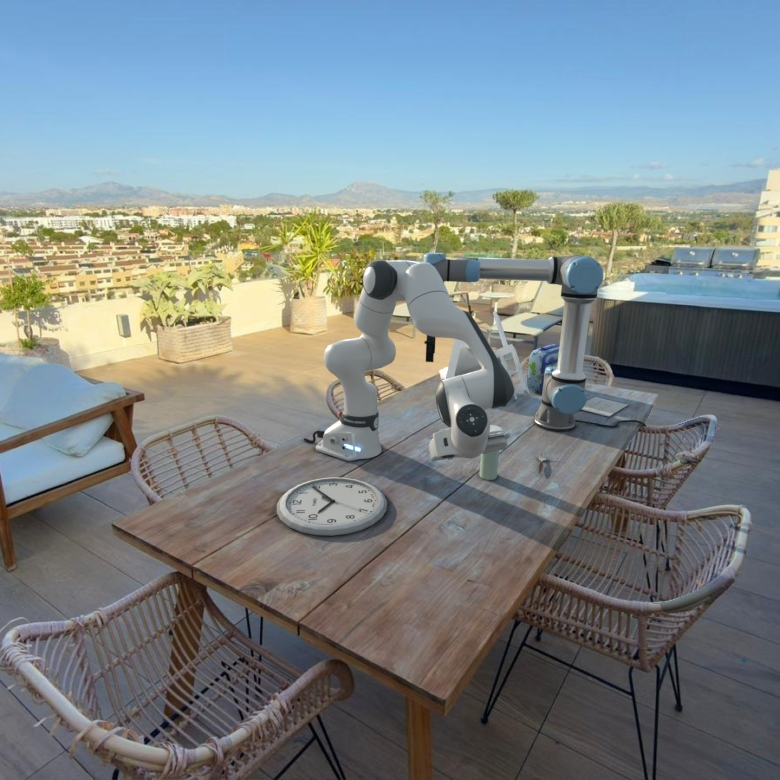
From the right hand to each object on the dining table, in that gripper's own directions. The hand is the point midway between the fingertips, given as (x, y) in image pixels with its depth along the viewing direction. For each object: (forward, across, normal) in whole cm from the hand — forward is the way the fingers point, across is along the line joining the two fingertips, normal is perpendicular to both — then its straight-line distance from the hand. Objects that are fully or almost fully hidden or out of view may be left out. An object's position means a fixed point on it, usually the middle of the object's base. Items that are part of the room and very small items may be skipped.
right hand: (430, 357), depth 190 cm
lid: (+13, +36, +21) cm, 44 cm away
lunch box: (+28, -61, +54) cm, 86 cm away
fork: (+28, +26, +38) cm, 54 cm away
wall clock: (+28, +61, -23) cm, 71 cm away
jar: (+28, +36, +21) cm, 50 cm away
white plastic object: (+28, -50, +22) cm, 61 cm away
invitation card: (+28, -38, +73) cm, 87 cm away
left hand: (+14, +53, +13) cm, 56 cm away
